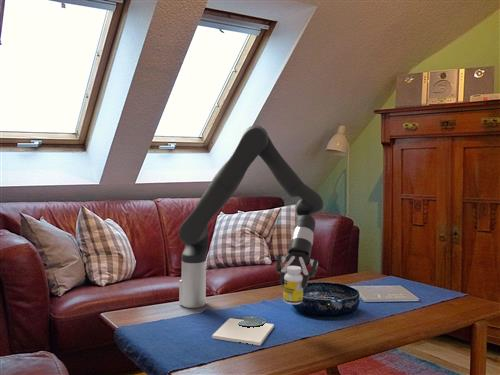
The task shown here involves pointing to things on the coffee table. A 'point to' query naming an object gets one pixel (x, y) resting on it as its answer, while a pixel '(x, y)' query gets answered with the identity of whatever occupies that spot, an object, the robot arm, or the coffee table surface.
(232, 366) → the coffee table surface
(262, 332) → the cream tile
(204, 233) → the robot arm
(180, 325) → the coffee table surface
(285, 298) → the pill bottle
